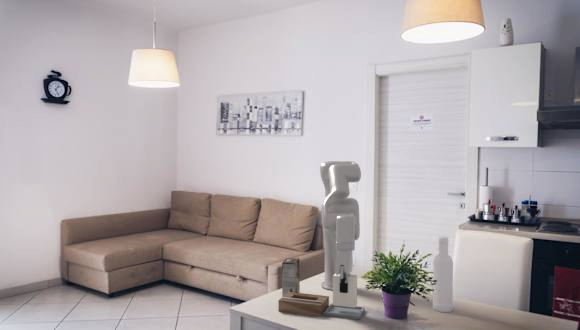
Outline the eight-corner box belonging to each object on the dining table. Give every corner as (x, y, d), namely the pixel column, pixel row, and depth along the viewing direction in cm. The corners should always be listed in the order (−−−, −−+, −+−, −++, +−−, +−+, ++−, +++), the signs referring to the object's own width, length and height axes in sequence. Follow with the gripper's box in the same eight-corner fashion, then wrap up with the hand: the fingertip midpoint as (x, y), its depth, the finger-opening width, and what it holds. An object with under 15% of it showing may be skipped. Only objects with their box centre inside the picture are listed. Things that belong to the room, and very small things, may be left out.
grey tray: (331, 306, 201) (331, 303, 201) (364, 310, 196) (364, 307, 196) (324, 315, 190) (324, 311, 190) (359, 319, 186) (359, 315, 186)
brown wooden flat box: (288, 302, 207) (288, 290, 206) (328, 306, 200) (328, 295, 200) (278, 311, 195) (278, 299, 195) (321, 316, 189) (321, 303, 189)
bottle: (455, 312, 194) (456, 239, 192) (436, 312, 194) (437, 239, 192) (448, 305, 202) (449, 235, 200) (430, 306, 202) (430, 235, 200)
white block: (335, 302, 196) (335, 273, 196) (357, 304, 193) (357, 275, 193) (332, 305, 192) (332, 275, 192) (354, 307, 189) (355, 277, 189)
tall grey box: (286, 292, 221) (286, 257, 220) (299, 292, 220) (299, 258, 219) (281, 298, 212) (281, 262, 211) (296, 299, 211) (296, 263, 210)
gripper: (340, 241, 201) (340, 284, 202) (330, 249, 185) (330, 296, 186) (358, 242, 199) (358, 286, 199) (349, 250, 183) (349, 298, 183)
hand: (345, 290), depth 193 cm, fingers closed on white block, 4 cm apart
